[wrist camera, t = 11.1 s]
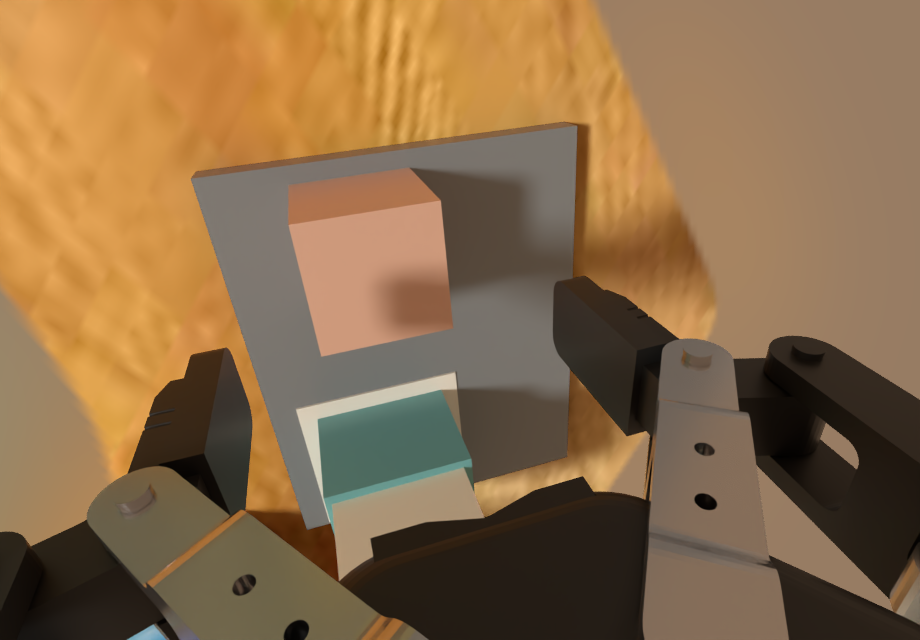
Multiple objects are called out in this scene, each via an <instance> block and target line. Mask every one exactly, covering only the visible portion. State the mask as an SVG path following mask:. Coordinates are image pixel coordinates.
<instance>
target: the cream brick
mask: <svg viewBox="0 0 920 640" xmlns="http://www.w3.org/2000/svg"><path fill="white" fill-rule="evenodd" d="M332 510H333V521H334V531H335V542H336V553H337V563H338V574H339V581H340V580H341V579H342V578H343V577H344V576H346V575H347V574H348V573H349V572H350V571H351V570H353V569H354V568H356V567H357V566H359V565H360V564H361V563H363V562H364V561H366V560H368V559H370V558H371V557H373V552H372V546H371V540H370V538H373V537H376V536H380V535H383V534H387V533H390V532H393V531H397V530H400V529H404V528H407V527H411V526H414V525H417V524H421V523H424V522H433V521H448V520H463V519H477V518H484V515H483V513H482V511H481V508H480V506H479V503H478V501H477V498H476V496H475V494H474V491H473V489H472V486H471V484H470V481H469V479H468V477H467V474H466V472H465V469H464V467H463V468H460V469H456V470H453V471H449V472H446V473H442V474H438V475H435V476H431V477H428V478H424V479H421V480H417V481H413V482H410V483H406V484H403V485H399V486H395V487H392V488H388V489H385V490H381V491H378V492H374V493H370V494H367V495H363V496H360V497H356V498H353V499H349V500H345V501H342V502H338V503H335V504H332Z"/></svg>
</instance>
